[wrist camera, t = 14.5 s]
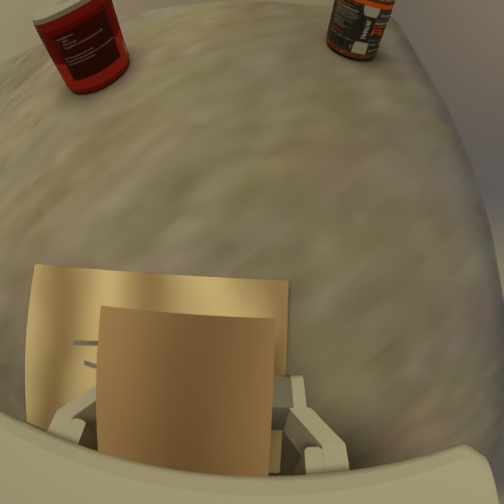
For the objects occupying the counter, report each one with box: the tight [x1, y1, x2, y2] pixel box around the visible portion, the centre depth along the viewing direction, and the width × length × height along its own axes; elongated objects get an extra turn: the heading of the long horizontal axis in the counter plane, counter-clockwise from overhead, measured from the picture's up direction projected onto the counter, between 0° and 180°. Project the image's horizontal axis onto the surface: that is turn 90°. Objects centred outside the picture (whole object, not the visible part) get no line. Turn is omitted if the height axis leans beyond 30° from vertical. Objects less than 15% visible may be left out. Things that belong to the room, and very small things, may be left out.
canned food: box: [32, 0, 129, 94], centre depth 20 cm, size 8×8×11 cm
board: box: [25, 264, 288, 473], centre depth 16 cm, size 18×12×1 cm, turn 88°
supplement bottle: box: [327, 0, 395, 60], centre depth 21 cm, size 6×6×11 cm
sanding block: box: [96, 306, 276, 477], centre depth 11 cm, size 5×6×9 cm
